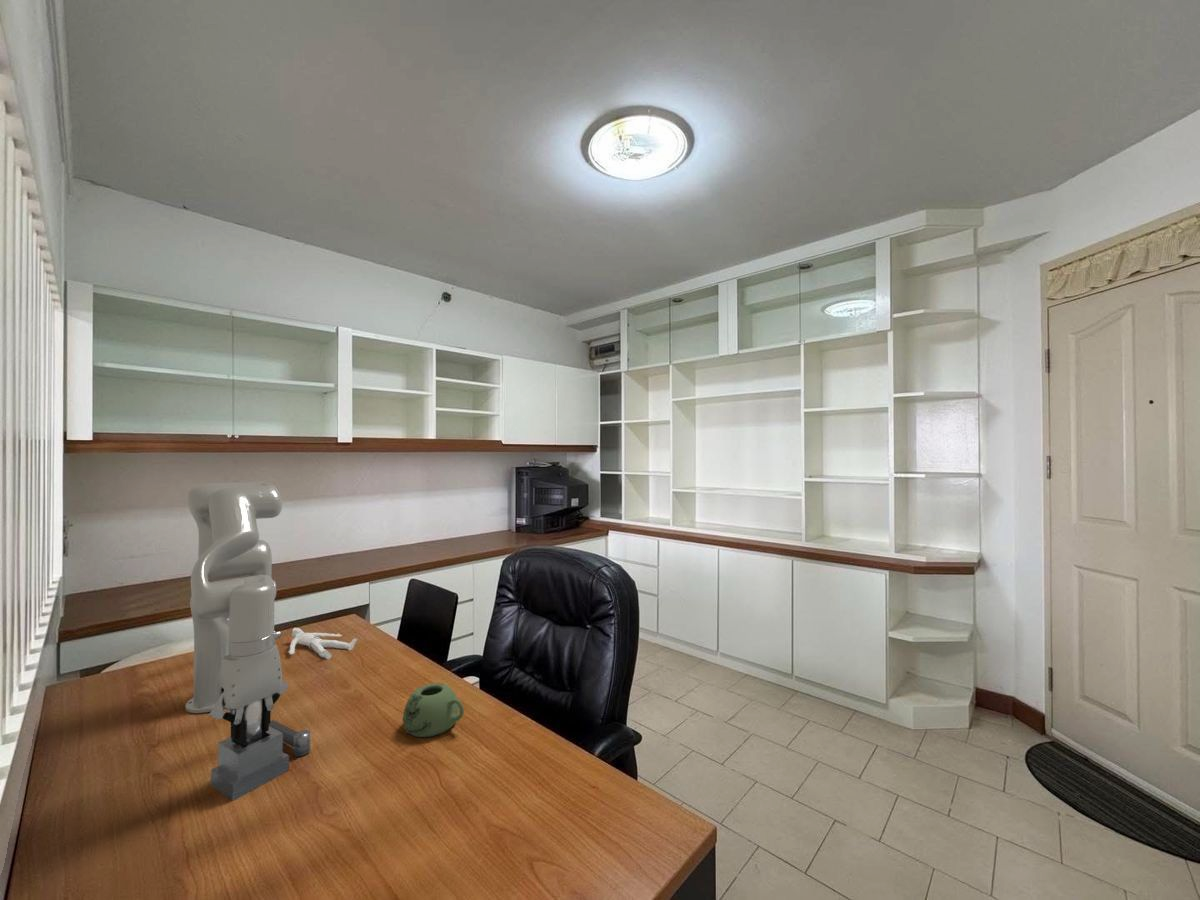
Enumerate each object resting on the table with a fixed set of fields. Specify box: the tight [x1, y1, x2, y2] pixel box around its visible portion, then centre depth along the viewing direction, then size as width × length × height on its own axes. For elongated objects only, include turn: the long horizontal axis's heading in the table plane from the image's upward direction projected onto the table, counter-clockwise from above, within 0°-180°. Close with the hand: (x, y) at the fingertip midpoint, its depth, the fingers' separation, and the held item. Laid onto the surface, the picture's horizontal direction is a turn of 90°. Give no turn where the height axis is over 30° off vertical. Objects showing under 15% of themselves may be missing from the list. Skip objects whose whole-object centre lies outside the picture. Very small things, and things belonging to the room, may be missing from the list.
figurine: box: [288, 627, 358, 660], centre depth 161 cm, size 6×19×25 cm
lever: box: [269, 719, 311, 758], centre depth 106 cm, size 16×3×4 cm, turn 61°
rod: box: [240, 699, 262, 748], centre depth 95 cm, size 4×4×11 cm
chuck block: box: [210, 726, 290, 801], centre depth 95 cm, size 9×10×8 cm
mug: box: [402, 682, 465, 738], centre depth 113 cm, size 16×13×9 cm
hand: (251, 734), depth 95 cm, fingers open, 3 cm apart
